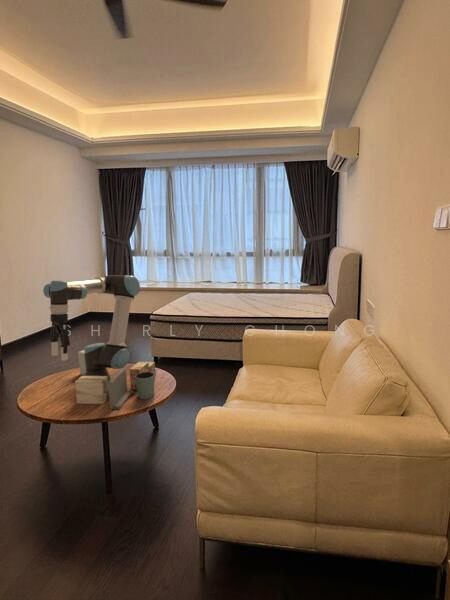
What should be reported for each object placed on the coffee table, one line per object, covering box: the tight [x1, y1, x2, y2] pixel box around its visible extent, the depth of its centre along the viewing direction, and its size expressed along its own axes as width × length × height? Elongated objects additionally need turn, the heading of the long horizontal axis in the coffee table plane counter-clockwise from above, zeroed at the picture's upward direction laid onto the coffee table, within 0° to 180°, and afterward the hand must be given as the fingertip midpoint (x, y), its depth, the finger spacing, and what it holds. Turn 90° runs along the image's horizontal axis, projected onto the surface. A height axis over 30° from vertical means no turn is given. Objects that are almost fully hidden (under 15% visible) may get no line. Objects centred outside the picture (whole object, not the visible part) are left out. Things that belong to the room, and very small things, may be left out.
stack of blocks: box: [129, 361, 157, 390], centre depth 225 cm, size 21×6×12 cm, turn 167°
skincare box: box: [77, 349, 86, 376], centre depth 241 cm, size 8×6×15 cm
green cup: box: [135, 372, 156, 400], centre depth 206 cm, size 10×10×12 cm
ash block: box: [74, 375, 110, 405], centre depth 202 cm, size 8×14×12 cm, turn 86°
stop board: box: [108, 367, 134, 410], centre depth 200 cm, size 20×5×14 cm, turn 176°
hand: (59, 357), depth 184 cm, fingers open, 13 cm apart
